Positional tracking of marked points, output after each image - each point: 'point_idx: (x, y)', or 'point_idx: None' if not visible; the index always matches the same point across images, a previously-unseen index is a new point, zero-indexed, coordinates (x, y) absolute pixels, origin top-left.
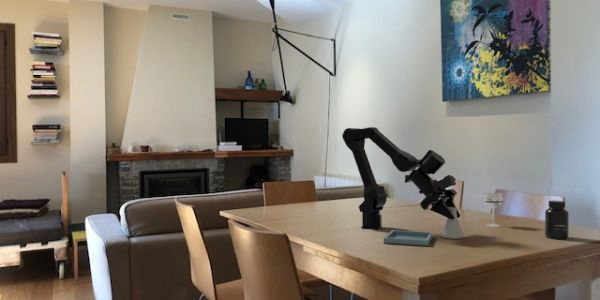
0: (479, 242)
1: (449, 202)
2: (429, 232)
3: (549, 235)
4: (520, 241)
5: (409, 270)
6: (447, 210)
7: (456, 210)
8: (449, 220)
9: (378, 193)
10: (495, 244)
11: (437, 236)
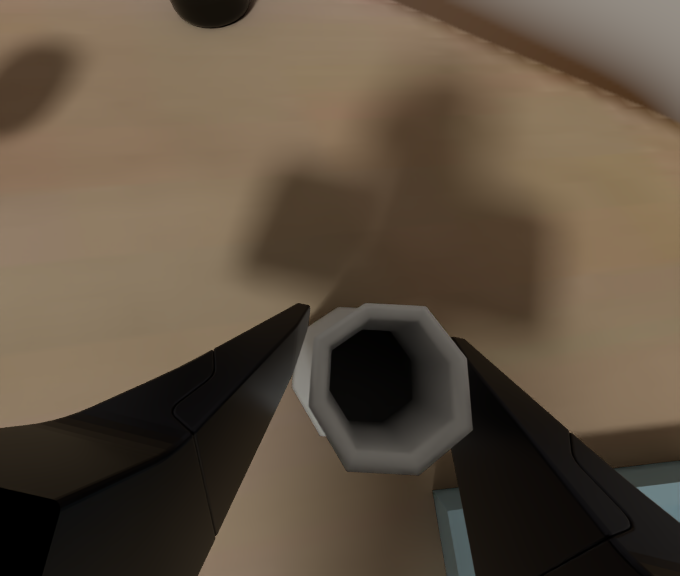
0: (430, 225)
1: (157, 516)
2: (456, 537)
3: (237, 5)
4: (334, 94)
5: None
6: (558, 432)
7: (370, 322)
8: (412, 395)
9: None
10: (440, 165)
11: None
